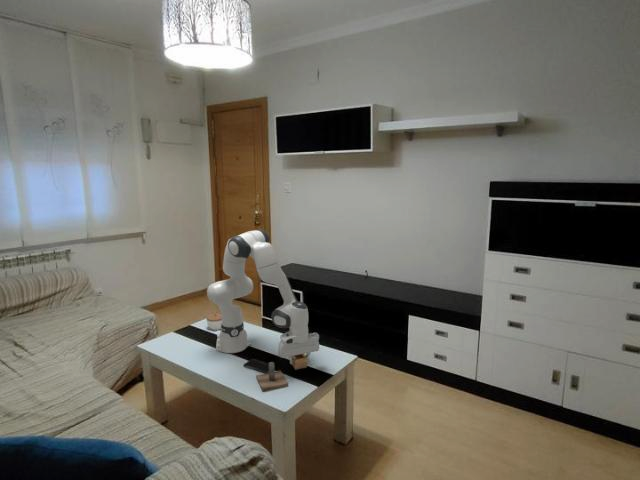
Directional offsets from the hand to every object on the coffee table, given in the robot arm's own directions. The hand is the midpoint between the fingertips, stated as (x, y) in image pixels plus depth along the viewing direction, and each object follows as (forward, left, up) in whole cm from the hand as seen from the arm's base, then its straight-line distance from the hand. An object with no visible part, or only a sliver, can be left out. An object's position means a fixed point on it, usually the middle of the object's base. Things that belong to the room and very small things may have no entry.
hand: (299, 361), depth 191 cm
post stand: (+5, -15, -5) cm, 16 cm away
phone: (-11, -17, -5) cm, 21 cm away
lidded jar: (-67, -30, -5) cm, 74 cm away
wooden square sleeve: (0, 0, -2) cm, 2 cm away
